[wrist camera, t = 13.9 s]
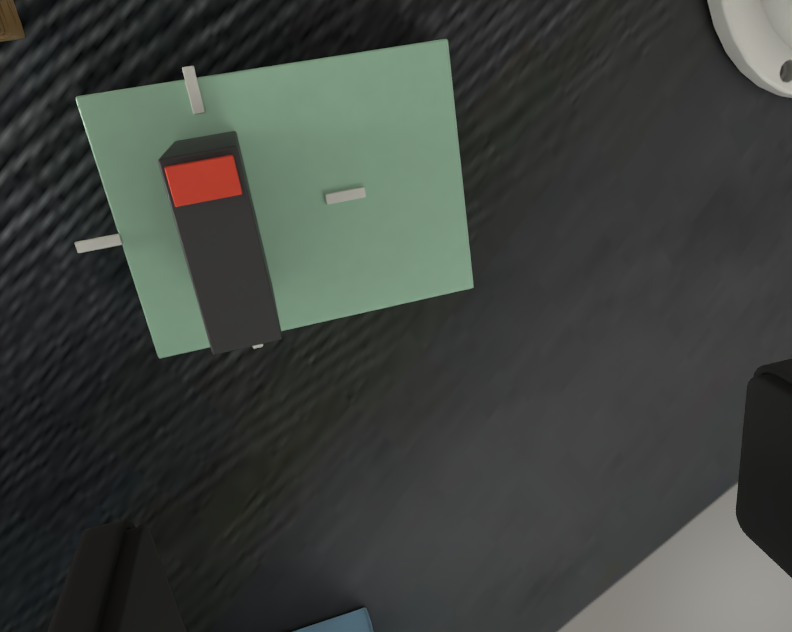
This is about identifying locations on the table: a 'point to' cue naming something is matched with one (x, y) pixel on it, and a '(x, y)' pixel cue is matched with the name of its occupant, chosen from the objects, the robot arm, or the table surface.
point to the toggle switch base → (297, 183)
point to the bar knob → (221, 240)
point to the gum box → (343, 623)
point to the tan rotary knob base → (10, 22)
